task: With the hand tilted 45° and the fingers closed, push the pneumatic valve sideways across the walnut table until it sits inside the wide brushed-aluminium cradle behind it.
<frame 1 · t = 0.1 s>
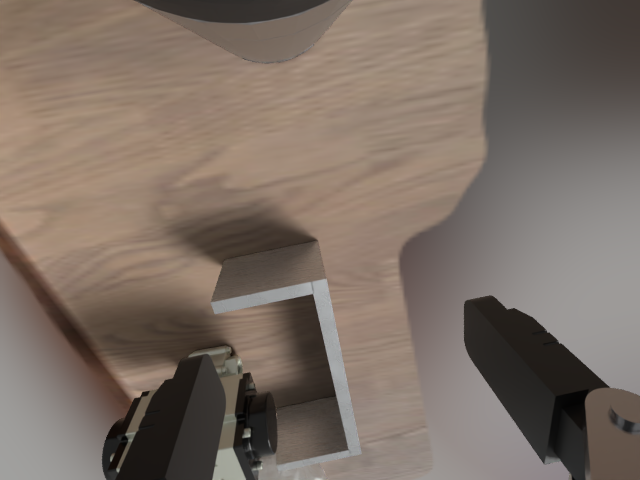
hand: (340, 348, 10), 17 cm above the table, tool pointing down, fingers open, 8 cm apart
bust: (277, 458, 40), on the table
pneumatic valve: (214, 354, 32), on the table
cradle: (335, 330, 32), on the table
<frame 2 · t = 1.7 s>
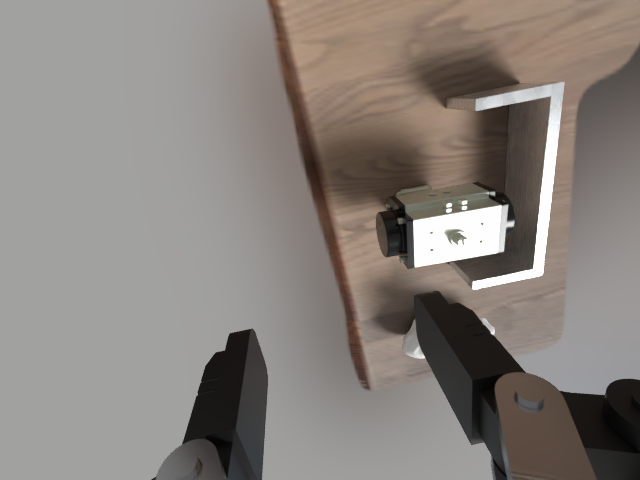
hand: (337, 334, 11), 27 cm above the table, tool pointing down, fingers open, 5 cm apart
bust: (434, 316, 46), on the table
pneumatic valve: (412, 196, 39), on the table
cradle: (513, 176, 39), on the table
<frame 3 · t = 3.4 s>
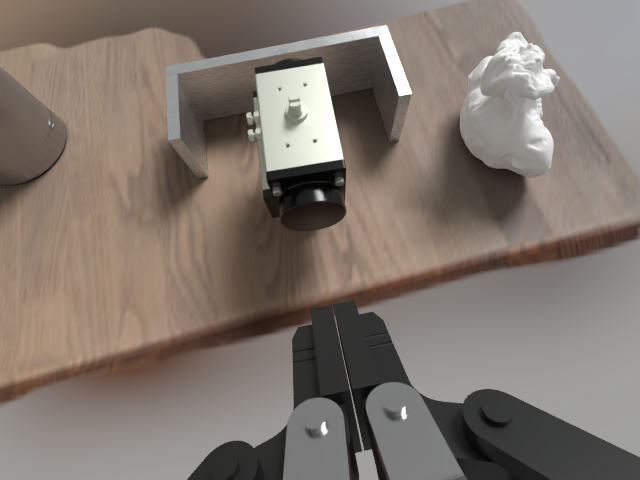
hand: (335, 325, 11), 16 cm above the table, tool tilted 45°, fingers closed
bust: (485, 143, 32), on the table
pneumatic valve: (306, 197, 31), on the table
cradle: (286, 97, 35), on the table
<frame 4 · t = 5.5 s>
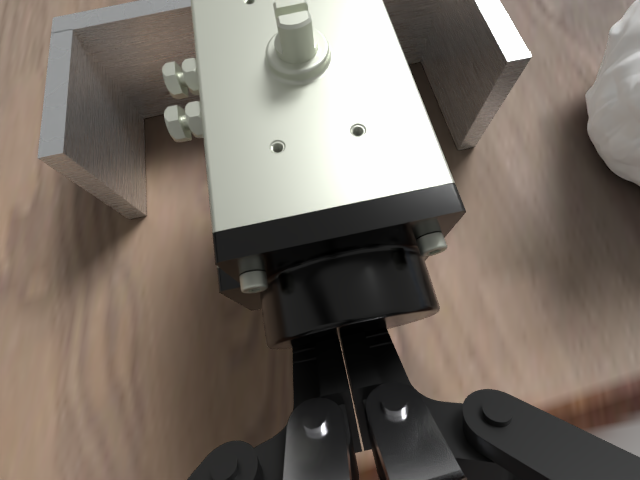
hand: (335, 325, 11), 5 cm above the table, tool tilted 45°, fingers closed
bust: (624, 151, 19), on the table
pneumatic valve: (315, 235, 18), on the table, touching gripper
cradle: (281, 78, 22), on the table
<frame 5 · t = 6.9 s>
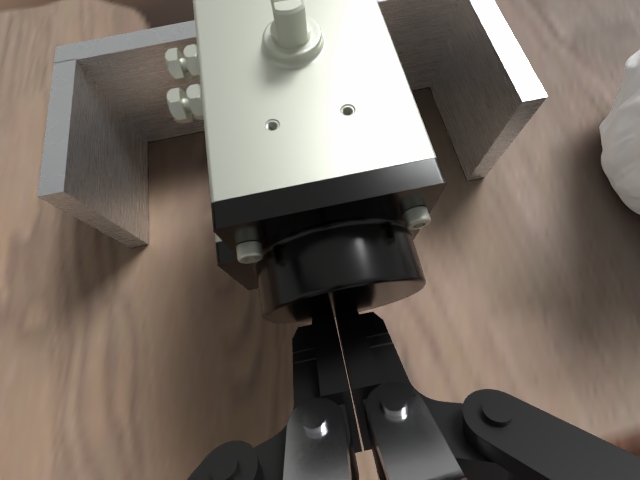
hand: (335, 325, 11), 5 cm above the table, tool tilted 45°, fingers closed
bust: (639, 183, 18), on the table
pneumatic valve: (312, 225, 18), on the table
cradle: (286, 102, 21), on the table
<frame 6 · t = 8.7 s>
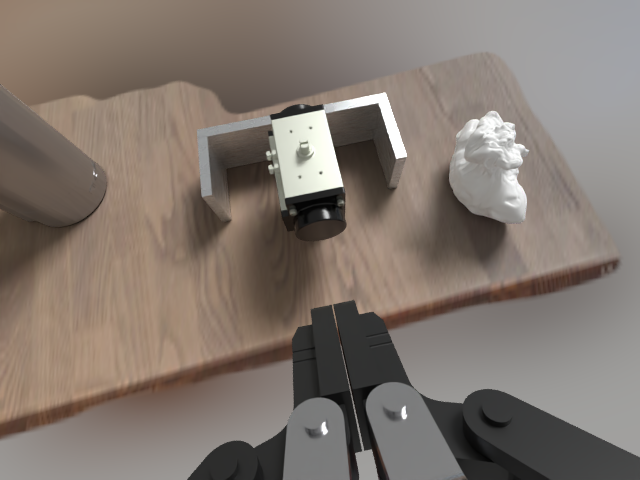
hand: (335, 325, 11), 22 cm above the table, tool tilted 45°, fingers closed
bust: (471, 190, 37), on the table
pneumatic valve: (311, 211, 37), on the table
cradle: (298, 147, 40), on the table
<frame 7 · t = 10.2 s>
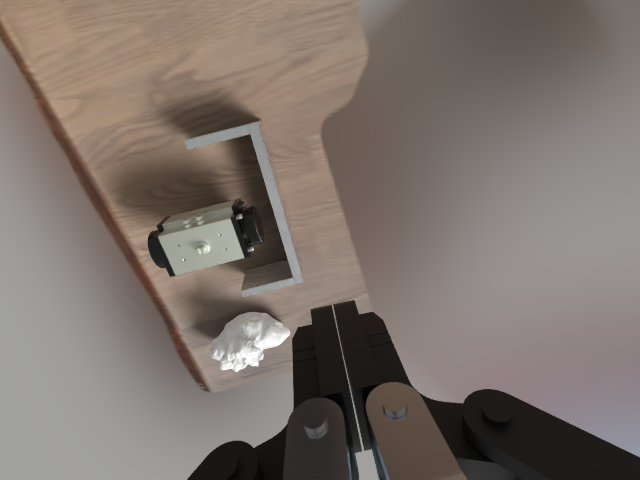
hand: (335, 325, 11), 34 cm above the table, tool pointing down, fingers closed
bust: (251, 322, 52), on the table
pneumatic valve: (220, 212, 45), on the table
cradle: (282, 197, 45), on the table
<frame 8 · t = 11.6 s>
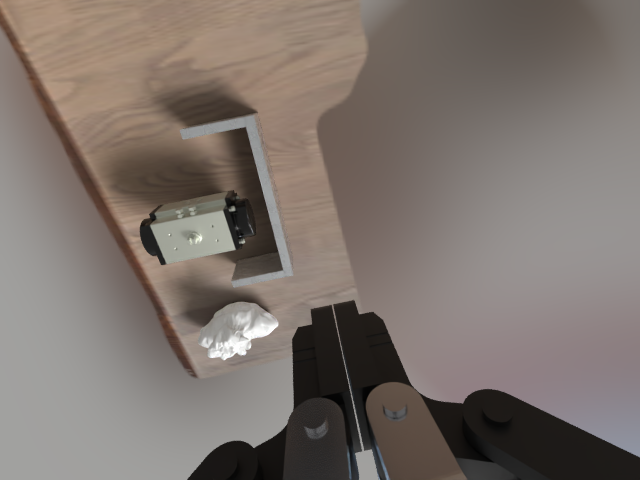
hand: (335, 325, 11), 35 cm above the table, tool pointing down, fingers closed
bust: (240, 311, 52), on the table
pneumatic valve: (213, 202, 45), on the table
cradle: (276, 190, 45), on the table
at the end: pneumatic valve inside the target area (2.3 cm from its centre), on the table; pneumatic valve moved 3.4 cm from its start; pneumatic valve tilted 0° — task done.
